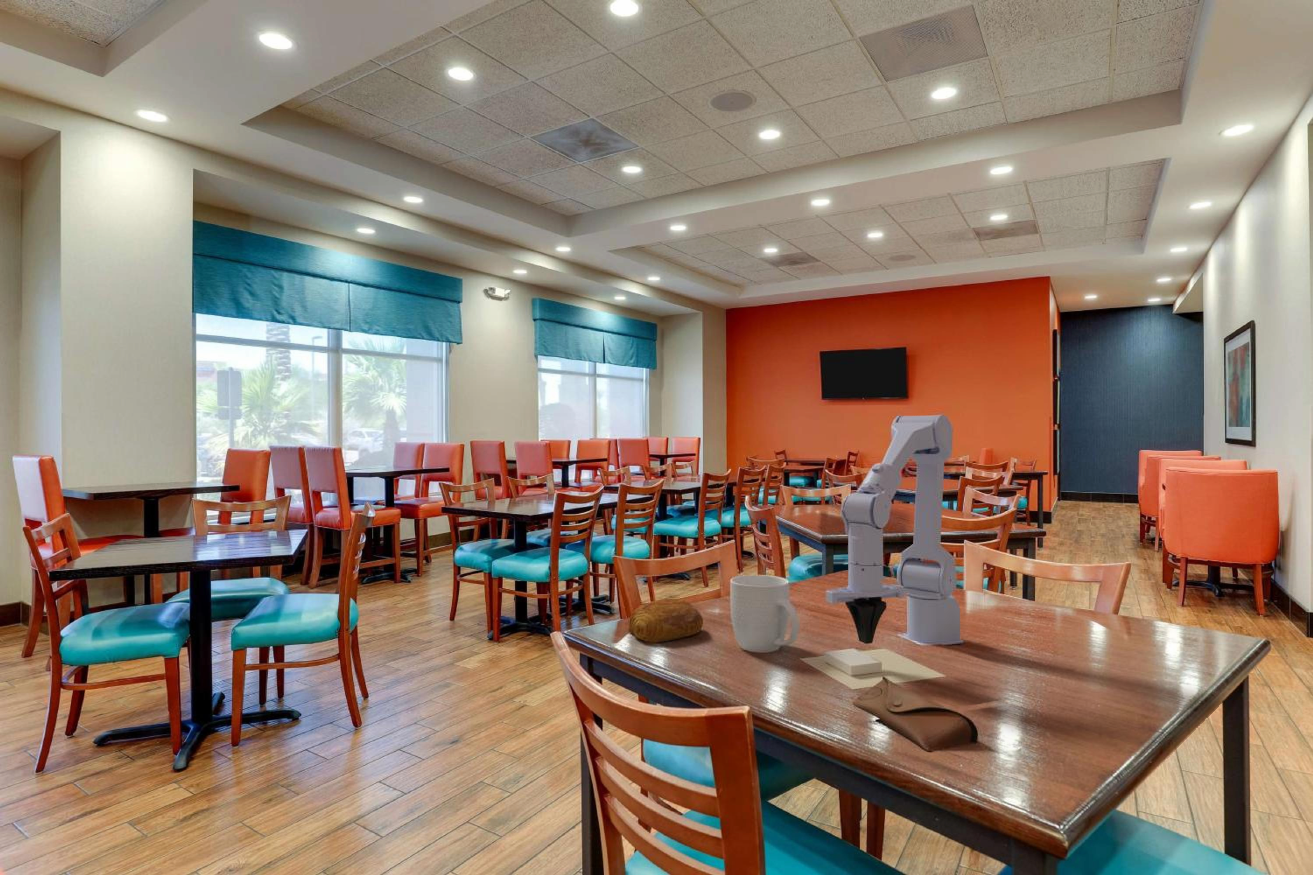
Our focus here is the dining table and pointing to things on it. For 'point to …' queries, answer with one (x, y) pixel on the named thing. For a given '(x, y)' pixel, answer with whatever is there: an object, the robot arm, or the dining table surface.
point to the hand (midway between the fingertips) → (865, 641)
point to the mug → (762, 612)
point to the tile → (852, 662)
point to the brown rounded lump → (665, 620)
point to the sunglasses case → (917, 717)
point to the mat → (892, 669)
